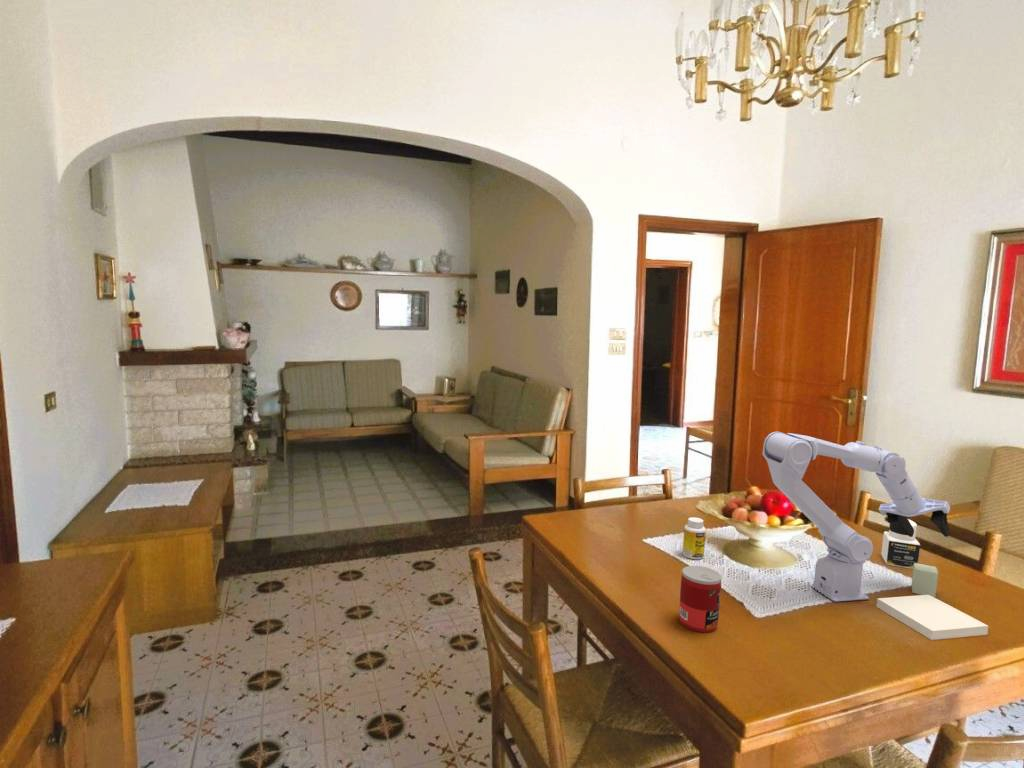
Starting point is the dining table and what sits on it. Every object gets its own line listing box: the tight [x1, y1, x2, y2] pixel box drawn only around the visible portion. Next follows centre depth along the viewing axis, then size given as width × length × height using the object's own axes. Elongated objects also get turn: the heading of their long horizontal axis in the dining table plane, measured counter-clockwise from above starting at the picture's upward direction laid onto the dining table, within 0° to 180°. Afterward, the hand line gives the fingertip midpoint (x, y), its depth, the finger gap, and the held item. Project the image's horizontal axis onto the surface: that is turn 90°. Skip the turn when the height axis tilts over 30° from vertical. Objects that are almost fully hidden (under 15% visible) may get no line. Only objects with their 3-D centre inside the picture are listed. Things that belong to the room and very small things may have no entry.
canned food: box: [678, 565, 722, 633], centre depth 123 cm, size 8×8×11 cm
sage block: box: [910, 562, 939, 598], centre depth 142 cm, size 4×4×6 cm
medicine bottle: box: [881, 518, 921, 570], centre depth 159 cm, size 7×7×12 cm
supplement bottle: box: [682, 517, 707, 560], centre depth 159 cm, size 6×6×10 cm
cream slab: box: [875, 594, 989, 641], centre depth 128 cm, size 14×14×2 cm
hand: (929, 533), depth 142 cm, fingers open, 7 cm apart
